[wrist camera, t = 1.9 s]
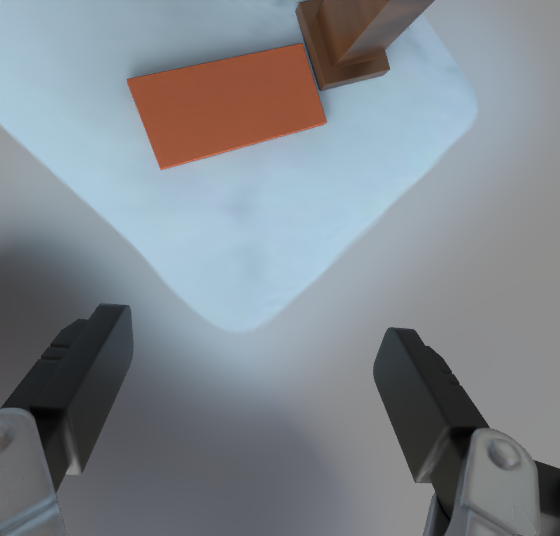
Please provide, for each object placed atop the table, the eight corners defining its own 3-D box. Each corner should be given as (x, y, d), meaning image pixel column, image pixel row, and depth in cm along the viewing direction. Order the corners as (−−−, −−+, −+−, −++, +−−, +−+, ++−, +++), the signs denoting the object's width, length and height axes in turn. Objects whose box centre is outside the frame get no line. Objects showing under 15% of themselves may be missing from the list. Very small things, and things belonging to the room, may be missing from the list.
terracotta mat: (160, 170, 23) (160, 168, 23) (127, 81, 22) (126, 79, 22) (324, 124, 26) (327, 122, 26) (300, 45, 26) (302, 42, 25)
